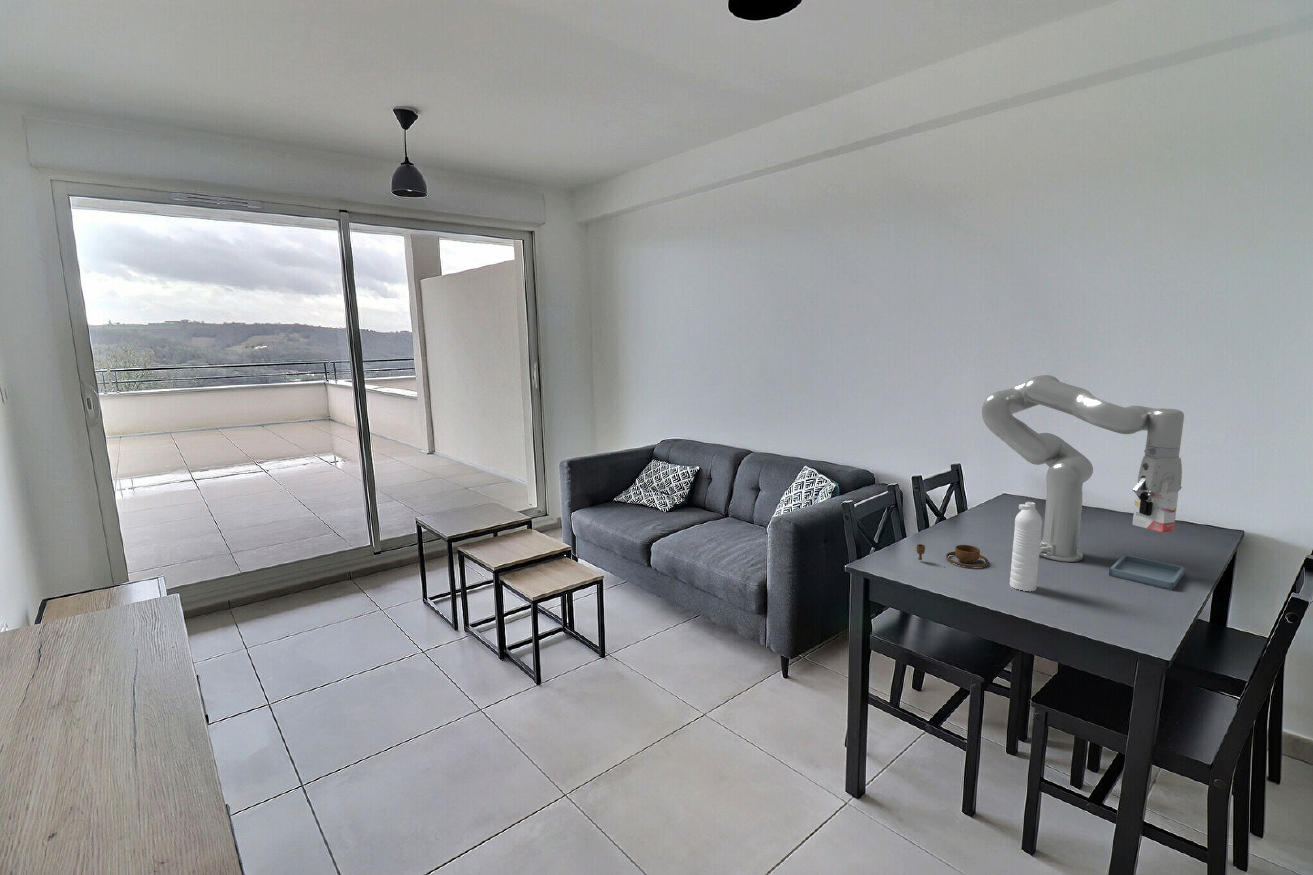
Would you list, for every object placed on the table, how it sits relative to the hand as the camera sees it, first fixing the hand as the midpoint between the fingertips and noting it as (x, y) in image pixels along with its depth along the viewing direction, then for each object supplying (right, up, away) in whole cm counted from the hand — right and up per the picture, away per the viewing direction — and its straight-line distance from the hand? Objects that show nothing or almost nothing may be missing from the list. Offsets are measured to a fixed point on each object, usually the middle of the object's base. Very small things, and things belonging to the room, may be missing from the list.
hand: (1154, 513), depth 176 cm
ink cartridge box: (0, -5, +1) cm, 5 cm away
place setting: (-50, -18, +18) cm, 56 cm away
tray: (0, -19, +3) cm, 19 cm away
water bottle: (-41, -21, -4) cm, 46 cm away
